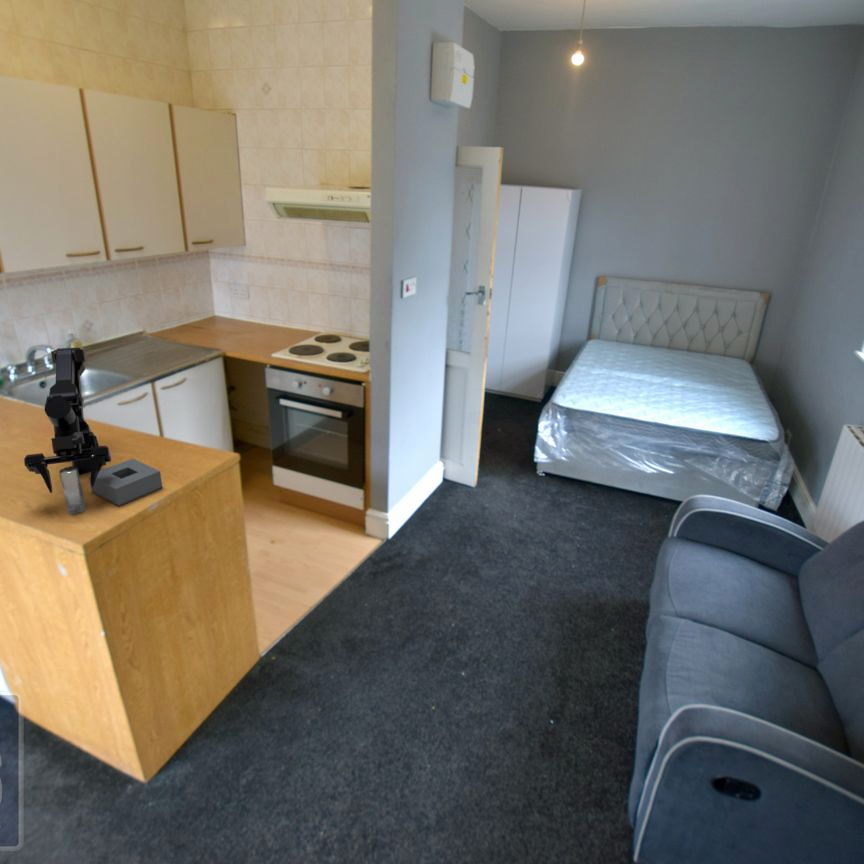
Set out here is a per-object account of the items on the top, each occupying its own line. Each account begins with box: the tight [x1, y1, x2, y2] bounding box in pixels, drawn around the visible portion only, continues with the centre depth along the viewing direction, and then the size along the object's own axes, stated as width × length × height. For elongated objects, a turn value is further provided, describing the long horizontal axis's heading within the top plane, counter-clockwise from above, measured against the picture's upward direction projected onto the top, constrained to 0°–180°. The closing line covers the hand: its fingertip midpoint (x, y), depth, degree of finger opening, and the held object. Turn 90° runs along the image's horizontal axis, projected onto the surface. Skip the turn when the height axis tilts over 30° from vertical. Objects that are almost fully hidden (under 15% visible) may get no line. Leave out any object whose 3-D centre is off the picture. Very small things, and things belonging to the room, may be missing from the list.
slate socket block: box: [88, 458, 163, 508], centre depth 162 cm, size 13×13×6 cm
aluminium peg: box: [59, 466, 87, 516], centre depth 149 cm, size 4×4×12 cm
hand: (71, 489), depth 148 cm, fingers open, 9 cm apart
